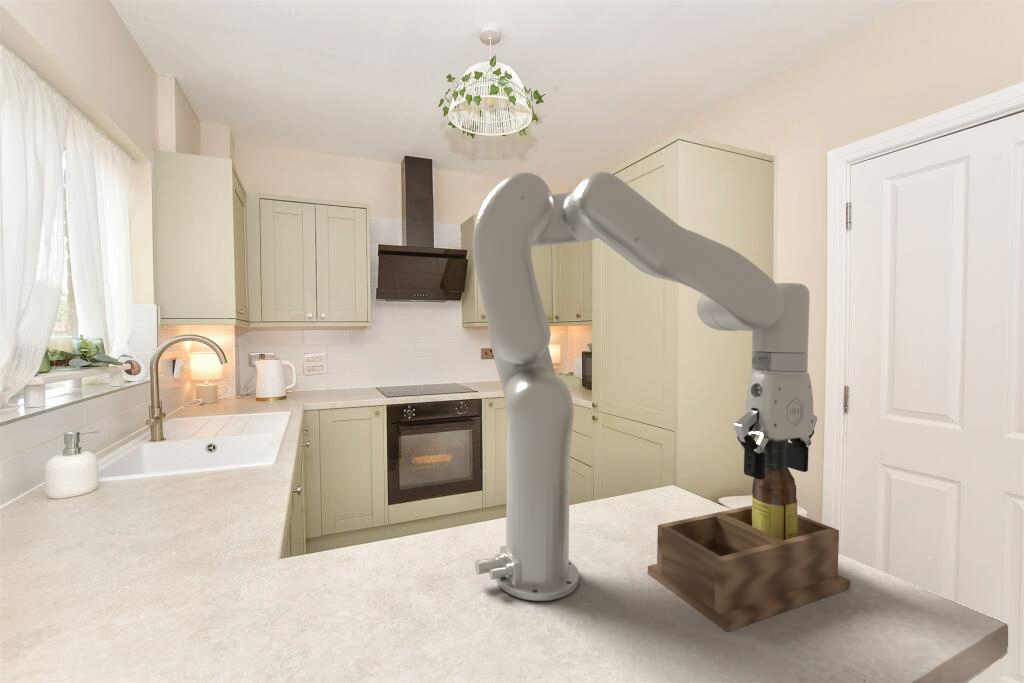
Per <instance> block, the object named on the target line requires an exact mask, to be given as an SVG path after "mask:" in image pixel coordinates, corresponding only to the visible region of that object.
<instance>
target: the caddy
mask: <svg viewBox="0 0 1024 683" xmlns="http://www.w3.org/2000/svg"><path fill="white" fill-rule="evenodd" d="M797 523H798V537H794V538H791V539H787V540H781V539H779V538H777V537H774V536H772V535H770V534H768V533H765V532H763V531H761V530H759V529H757V528H754V527H752V504H751V505H748V506H743V507H739V508H738V507H737V508H733V509H728V510H724V511H718V512H714V513H710V514H709V513H708V514H705V515H700V516H694V517H691V518H690V517H689V518H685V519H681V520H680V519H679V520H676V521H671V522H665V523H660V524H657V547H656V563H655V564H650V565H647V574H648V575H649V576H650V577H651V578H653V579H654V580H656V581H657V582H658V583H660V584H661V585H662V586H664V587H665V588H667V590H669V591H671V592H672V593H674V594H675V595H676V596H678V597H679V598H680V599H682V600H683V601H684V602H685V603H687V604H689V605H690V606H691V607H692V608H694V609H695V610H697V611H698V612H699V613H701V614H702V615H703V616H705V617H707V618H708V619H709V620H710V621H712V622H713V623H714V624H716V625H717V626H719V627H720V628H721V629H723V630H724V631H726V633H729V632H730V631H734V630H736V629H739V628H742V627H745V626H748V625H751V624H755V623H756V622H759V621H762V620H765V619H768V618H770V617H774V616H777V615H779V614H782V613H784V612H788V611H790V610H793V609H795V608H798V607H799V608H800V607H802V606H805V605H808V604H810V603H813V602H817V601H819V600H821V599H824V598H828V597H831V596H832V595H835V594H838V592H839V593H841V591H842V592H843V591H844V590H845V591H847V590H849V589H848V588H850V589H851V580H850V579H848V578H846V577H844V576H842V575H839V550H840V548H839V547H840V546H839V545H840V544H839V543H840V530H839V529H838V528H835V527H831V526H829V525H826V524H825V523H821V522H819V521H816V520H813V519H811V518H808V517H806V516H803V515H800V514H799V513H797Z"/></svg>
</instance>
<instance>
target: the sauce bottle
mask: <svg viewBox="0 0 1024 683" xmlns="http://www.w3.org/2000/svg"><path fill="white" fill-rule="evenodd" d="M789 442H790V441H789V440H781V441H774V440H771V439H769V440H768V442H767V444H766V445H765V447H764V449H763V451H762V453H765V478H764V479H762V480H759V479H757V478H754V477H753V480H752V486H751V505H752V527H754V528H757V529H759V530H761V531H763V532H765V533H768V534H770V535H772V536H774V537H777V538H779V539H781V540H787V539H791V538H794V537H798V523H797V514H798V498H797V484H796V480H795V477H794V476H793V474H792V472H791V471H790V468H788V463H787V449H788V447H789Z"/></svg>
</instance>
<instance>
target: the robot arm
mask: <svg viewBox="0 0 1024 683" xmlns="http://www.w3.org/2000/svg"><path fill="white" fill-rule="evenodd" d="M595 239H599V240H600V241H602V242H603V243H604V244H606V245H607V246H608V247H609V248H611V249H612V250H613V251H615V252H616V253H617V254H618V255H620V256H621V257H622V258H624V260H626V261H627V262H628V263H630V264H631V265H633V266H634V267H635V268H636V269H637V270H639V271H640V272H642V273H644V274H646V275H649V276H651V277H654V278H657V279H663V280H667V281H671V282H675V283H679V284H681V285H684V286H685V287H688V288H690V289H692V290H695V291H696V292H698V293H700V294H701V295H700V297H699V298H698V301H697V303H696V312H697V316H698V318H699V319H700V320H701V322H702V323H704V324H705V326H708V327H709V328H711V329H714V330H716V331H717V330H718V331H723V332H724V331H725V332H729V331H730V332H737V331H743V332H744V331H746V332H750V331H751V332H752V337H751V340H752V341H751V342H752V344H751V345H752V346H751V347H752V348H751V372H750V376H749V380H748V385H747V390H746V400H745V411H744V412H745V414H744V415H743V416H742V417H741V418H739V419H738V420H736V422H735V423H734V424H733V425H734V426H733V428H734V430H735V434H736V435H737V437H736V438H737V441H738V442H739V443H740V447H741V450H743V451H744V454H743V474H744V475H745V476H749V477H751V478H753V479H754V478H757V479H759V480H762V479H764V478H765V453H762V451H763V449H764V447H765V445H766V444H767V442H768V440H769V439H771V440H774V441H781V440H788V442H789V447H788V449H787V463H788V469H792V470H796V471H799V472H802V473H806V472H808V471H809V447H810V446H811V445H812V440H811V439H812V437H813V436H814V434H815V427H816V424H817V422H818V416H816V415H815V414H814V399H813V398H814V397H813V387H812V382H811V381H812V380H811V377H810V373H809V372H808V369H809V368H808V367H809V366H808V364H809V363H808V361H809V331H810V330H809V328H810V299H811V298H810V291H809V290H810V289H809V288H808V287H807V286H806V285H804V284H802V283H796V282H775V281H774V280H773V279H772V278H771V277H770V276H769V275H768V274H767V273H766V272H764V271H763V270H762V269H761V268H759V267H758V266H757V265H756V264H754V263H753V261H751V260H750V259H748V258H747V257H745V256H744V255H743V254H741V253H739V252H738V251H736V250H734V249H733V248H731V247H728V246H726V245H725V244H722V243H720V242H717V241H715V240H713V239H710V238H708V237H706V236H703V235H701V234H699V233H697V232H695V231H692V230H690V229H686V228H684V227H683V226H681V225H679V224H678V223H676V222H675V221H674V220H673V219H672V218H670V217H669V216H667V215H666V214H665V213H664V212H662V211H661V210H660V209H659V208H657V207H656V206H655V205H654V204H652V203H651V202H650V201H649V200H647V199H646V198H645V197H644V196H643V195H641V194H640V193H639V192H637V191H636V190H635V189H633V188H632V187H631V186H630V185H629V184H628V183H627V182H625V181H623V180H622V179H621V178H619V177H618V176H616V175H615V174H613V173H611V172H607V171H597V172H593V173H592V174H590V175H587V176H586V177H585V178H583V179H582V180H581V181H580V182H579V184H578V185H577V186H576V187H575V188H574V190H573V191H569V192H564V193H562V192H561V193H554V194H552V191H551V189H550V187H549V186H548V184H547V182H546V181H545V180H544V179H543V178H541V176H538V175H536V174H535V173H532V172H525V171H523V172H517V173H514V174H512V175H510V176H508V177H506V178H505V179H504V180H502V181H501V182H499V183H498V184H497V185H496V186H495V187H494V188H493V190H491V192H490V193H489V194H488V195H487V197H486V199H485V200H484V201H483V203H482V205H481V207H480V209H479V211H478V214H477V217H476V219H475V224H474V228H473V233H472V258H473V264H474V270H475V274H476V279H477V282H478V288H479V291H480V292H479V293H480V296H481V301H482V304H483V307H484V313H485V315H486V320H487V325H488V330H487V332H488V334H487V335H488V340H489V344H490V348H491V352H492V355H493V359H494V362H495V363H494V364H495V367H496V370H497V375H498V378H499V381H500V386H501V389H502V392H503V396H504V400H505V402H506V408H507V412H506V413H507V414H506V415H507V432H506V433H507V437H506V439H507V440H506V517H505V518H506V519H505V521H506V526H505V527H506V528H505V529H506V530H505V531H506V534H505V539H506V541H505V542H506V543H505V544H506V545H501V546H499V553H498V554H495V555H494V557H490V558H483V559H478V560H475V562H474V568H475V573H476V575H477V576H478V575H480V576H481V575H484V574H489V578H490V580H496V582H497V585H498V587H500V588H501V590H503V591H504V592H506V593H507V594H509V595H511V596H513V597H516V598H518V599H522V600H527V601H535V602H543V601H544V602H545V601H547V602H548V601H554V600H557V599H562V598H563V597H566V596H568V595H570V594H571V593H572V592H574V591H575V589H576V588H577V587H578V585H579V581H580V575H579V573H580V572H579V569H578V568H577V566H576V564H574V563H573V562H572V561H571V560H570V558H569V557H570V556H569V554H570V550H569V548H570V486H571V484H570V481H571V479H570V478H571V477H570V476H571V475H570V473H571V470H570V469H571V467H570V466H571V446H572V445H571V444H572V433H573V426H574V417H575V416H574V412H575V411H574V410H575V408H574V403H573V397H572V394H571V391H570V389H569V387H568V386H567V385H566V383H565V382H564V380H562V379H561V378H560V377H559V376H557V374H556V370H555V366H554V363H553V360H552V359H553V358H552V356H551V351H550V349H549V345H550V342H551V336H552V334H551V327H550V326H551V325H550V323H549V320H548V318H547V314H546V311H545V308H544V305H543V302H542V297H541V294H540V290H539V287H538V283H537V278H536V274H535V269H534V266H533V260H532V247H542V246H554V245H564V244H566V245H567V244H574V243H581V242H589V241H593V240H595ZM755 439H758V440H757V441H755Z"/></svg>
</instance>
